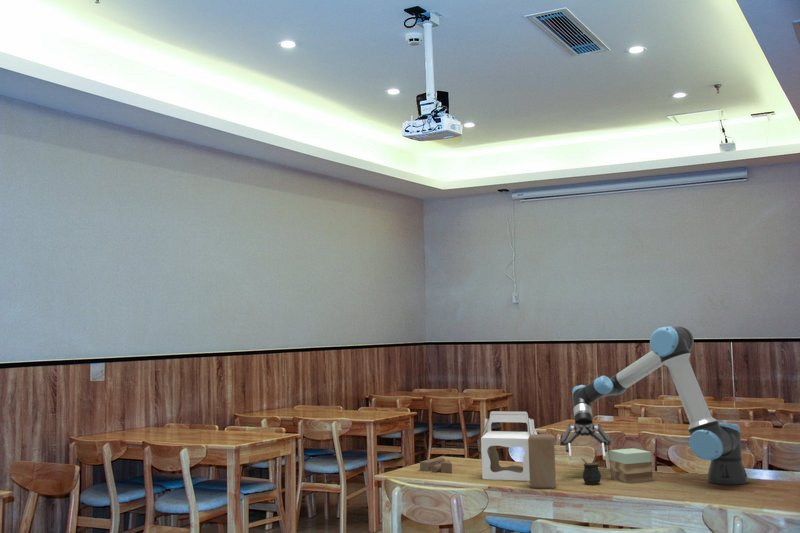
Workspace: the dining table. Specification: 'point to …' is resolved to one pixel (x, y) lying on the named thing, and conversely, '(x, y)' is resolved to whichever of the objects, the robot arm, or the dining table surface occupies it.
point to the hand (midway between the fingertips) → (587, 457)
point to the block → (542, 461)
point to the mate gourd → (591, 473)
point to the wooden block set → (436, 465)
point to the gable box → (505, 439)
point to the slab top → (630, 456)
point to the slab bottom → (631, 477)
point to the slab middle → (631, 467)
